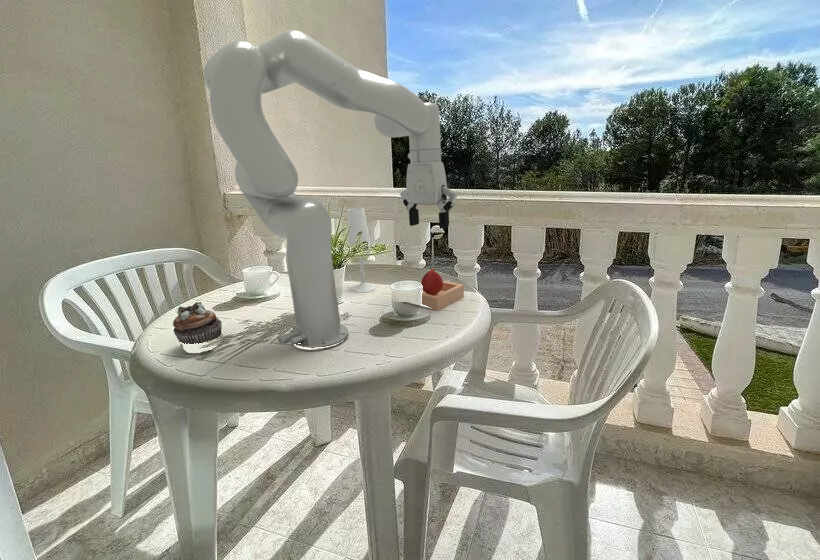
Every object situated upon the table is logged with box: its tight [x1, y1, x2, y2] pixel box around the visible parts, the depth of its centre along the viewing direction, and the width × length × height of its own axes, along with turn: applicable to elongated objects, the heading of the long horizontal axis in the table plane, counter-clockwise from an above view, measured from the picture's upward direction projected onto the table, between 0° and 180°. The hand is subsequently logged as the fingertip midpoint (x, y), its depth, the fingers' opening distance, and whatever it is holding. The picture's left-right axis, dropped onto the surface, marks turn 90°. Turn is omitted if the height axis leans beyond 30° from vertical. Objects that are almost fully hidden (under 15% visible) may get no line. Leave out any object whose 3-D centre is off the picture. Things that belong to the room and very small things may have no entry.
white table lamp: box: [347, 207, 376, 293], centre depth 124 cm, size 7×7×24 cm
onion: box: [420, 268, 444, 296], centre depth 113 cm, size 6×6×8 cm
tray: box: [419, 280, 465, 312], centre depth 114 cm, size 12×12×3 cm
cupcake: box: [172, 301, 223, 344], centre depth 94 cm, size 10×10×10 cm
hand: (428, 226), depth 109 cm, fingers open, 9 cm apart
